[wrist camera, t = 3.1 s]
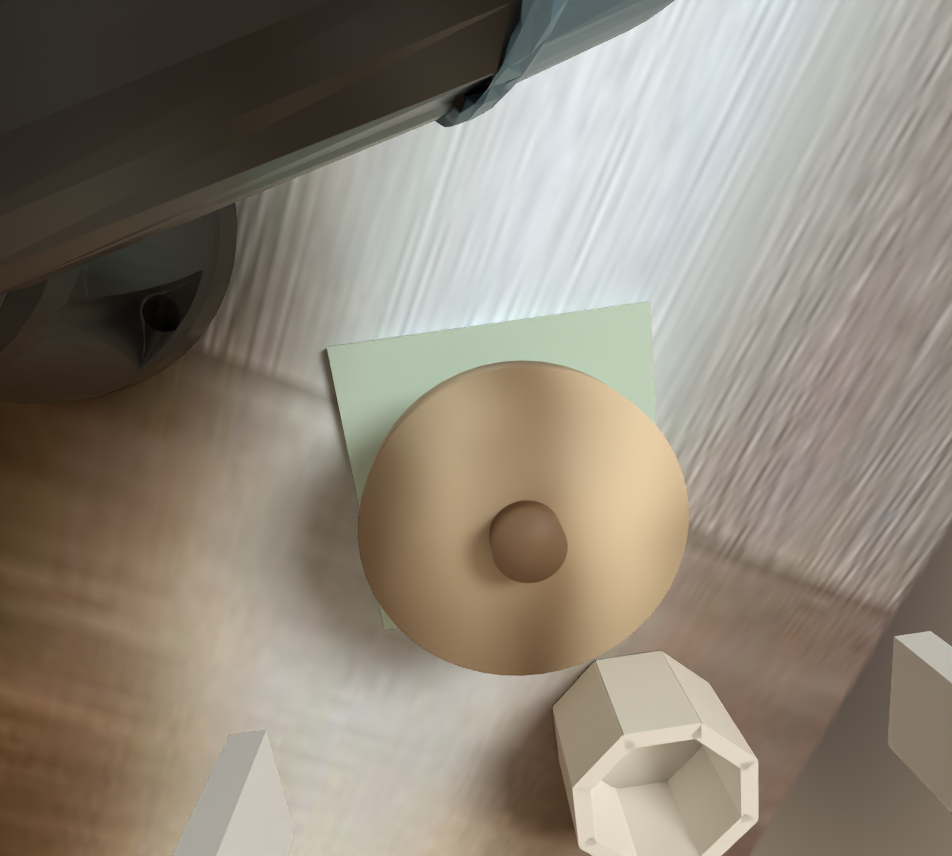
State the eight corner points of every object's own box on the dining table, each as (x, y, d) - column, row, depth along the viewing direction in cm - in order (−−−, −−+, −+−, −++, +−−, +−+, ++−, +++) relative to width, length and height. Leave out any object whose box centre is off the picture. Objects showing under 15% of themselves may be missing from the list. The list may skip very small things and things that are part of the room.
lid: (393, 662, 25) (386, 719, 21) (338, 384, 21) (319, 404, 18) (675, 621, 25) (707, 671, 22) (661, 339, 22) (697, 350, 18)
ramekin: (562, 795, 32) (583, 887, 28) (547, 667, 30) (567, 743, 25) (712, 773, 32) (758, 860, 28) (708, 643, 30) (757, 714, 25)
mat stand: (384, 625, 29) (374, 686, 25) (328, 346, 25) (305, 361, 21) (662, 584, 29) (699, 638, 25) (647, 301, 26) (686, 307, 21)
